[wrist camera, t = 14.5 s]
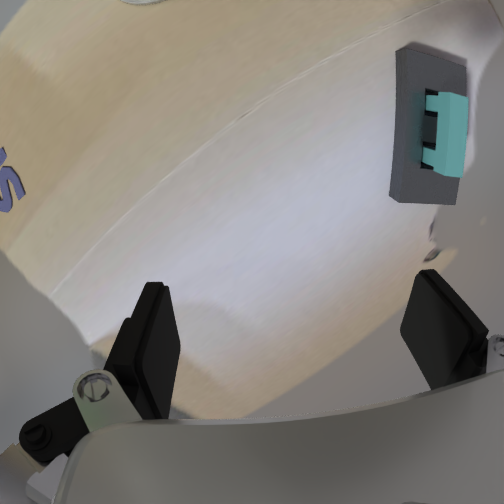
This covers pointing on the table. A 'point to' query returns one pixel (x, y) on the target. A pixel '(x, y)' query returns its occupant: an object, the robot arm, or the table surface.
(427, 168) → the gray slotted base plate
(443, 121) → the clip
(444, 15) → the table surface
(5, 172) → the signage
